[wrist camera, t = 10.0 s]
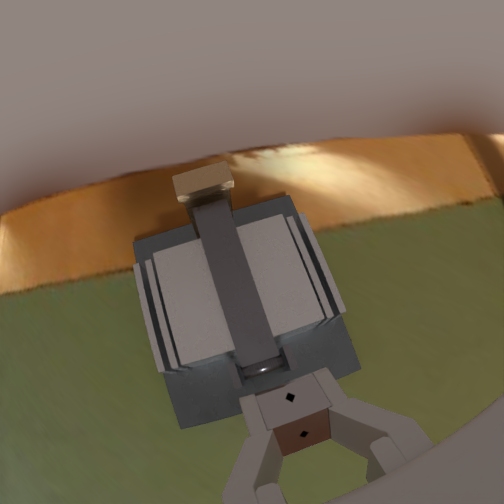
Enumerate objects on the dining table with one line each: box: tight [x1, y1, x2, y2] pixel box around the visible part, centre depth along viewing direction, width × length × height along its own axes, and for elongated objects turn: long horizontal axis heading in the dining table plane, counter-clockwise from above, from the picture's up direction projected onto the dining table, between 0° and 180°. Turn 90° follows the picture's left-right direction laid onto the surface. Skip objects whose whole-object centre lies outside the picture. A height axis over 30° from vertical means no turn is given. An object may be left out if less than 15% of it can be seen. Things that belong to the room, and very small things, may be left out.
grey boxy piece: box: [133, 160, 361, 429], centre depth 27 cm, size 18×20×10 cm
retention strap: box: [192, 199, 285, 380], centre depth 25 cm, size 15×3×1 cm, turn 18°
